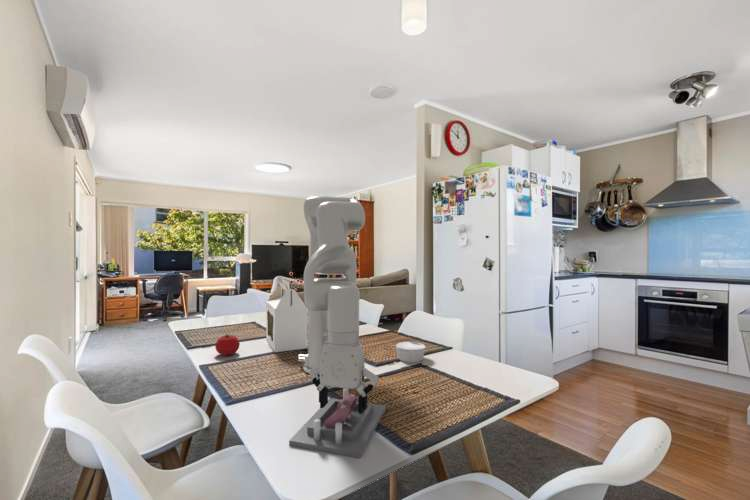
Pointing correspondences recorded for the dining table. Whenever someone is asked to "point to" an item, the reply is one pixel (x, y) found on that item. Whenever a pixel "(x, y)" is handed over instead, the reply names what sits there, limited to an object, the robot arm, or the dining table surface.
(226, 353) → the tomato
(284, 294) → the gable box
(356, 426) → the tray
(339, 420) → the pink rounded piece
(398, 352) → the ramekin
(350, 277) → the robot arm
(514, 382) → the dining table surface
